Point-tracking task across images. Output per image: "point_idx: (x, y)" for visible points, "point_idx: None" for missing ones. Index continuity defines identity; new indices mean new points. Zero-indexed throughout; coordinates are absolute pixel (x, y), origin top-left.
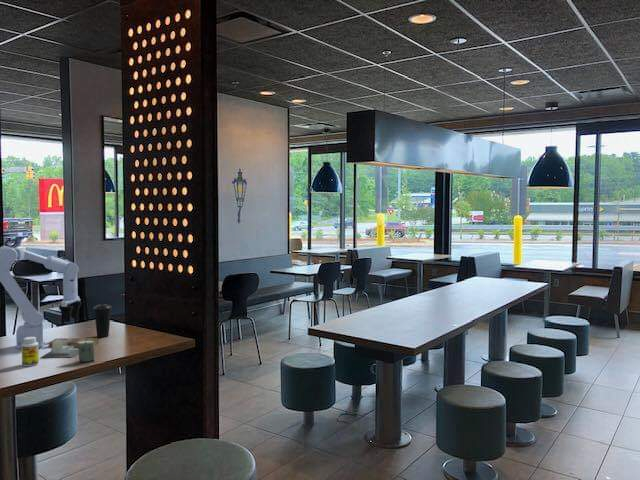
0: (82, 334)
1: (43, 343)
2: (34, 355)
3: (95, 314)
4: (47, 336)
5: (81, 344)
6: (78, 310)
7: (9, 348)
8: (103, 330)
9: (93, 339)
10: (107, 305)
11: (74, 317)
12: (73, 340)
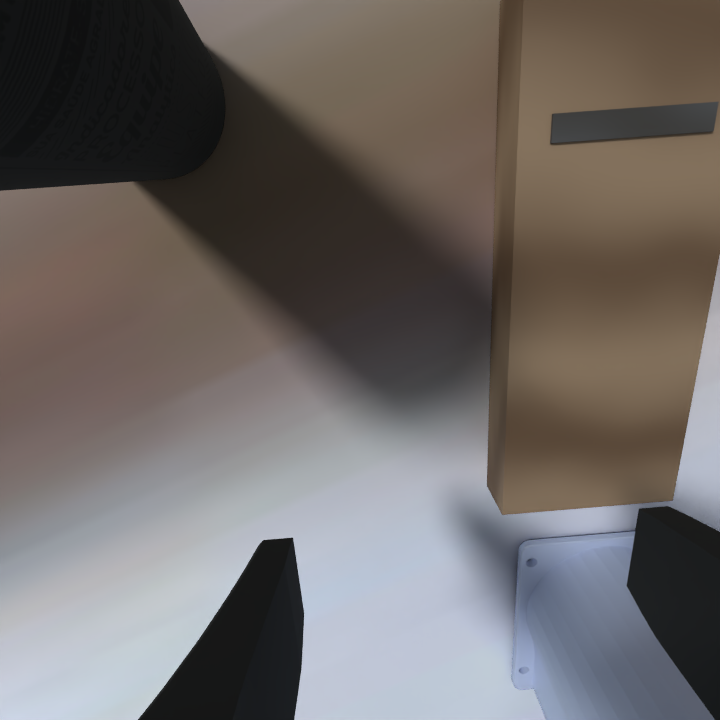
0: (112, 404)
1: (555, 559)
2: None
3: (20, 96)
4: None
5: None
6: (182, 690)
7: None
8: (183, 9)
9: (583, 27)
10: None
11: (295, 582)
12: (613, 293)
